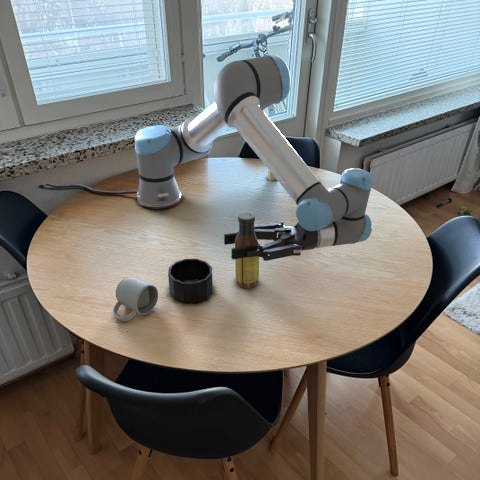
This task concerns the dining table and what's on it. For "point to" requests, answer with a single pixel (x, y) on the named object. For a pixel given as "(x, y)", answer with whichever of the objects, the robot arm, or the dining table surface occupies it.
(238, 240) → the sauce bottle
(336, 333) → the dining table surface
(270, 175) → the sprinkles bottle
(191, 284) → the cup
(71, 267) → the dining table surface
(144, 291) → the ceramic mug
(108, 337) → the dining table surface
